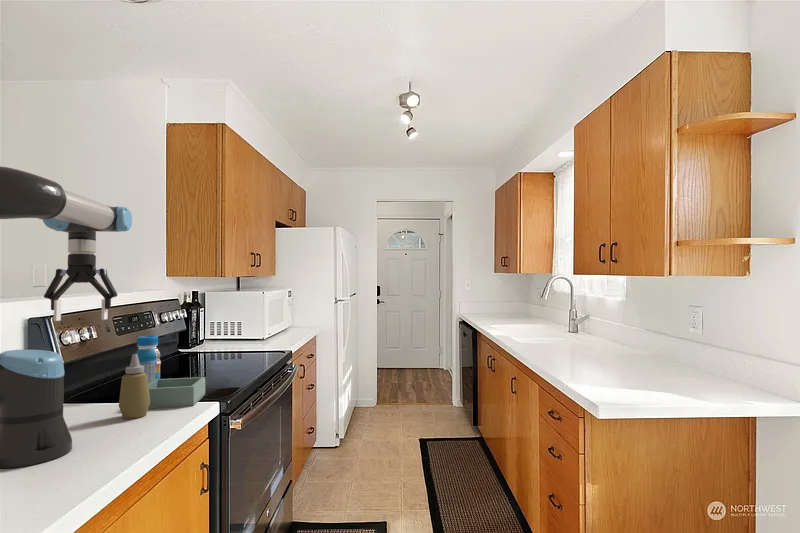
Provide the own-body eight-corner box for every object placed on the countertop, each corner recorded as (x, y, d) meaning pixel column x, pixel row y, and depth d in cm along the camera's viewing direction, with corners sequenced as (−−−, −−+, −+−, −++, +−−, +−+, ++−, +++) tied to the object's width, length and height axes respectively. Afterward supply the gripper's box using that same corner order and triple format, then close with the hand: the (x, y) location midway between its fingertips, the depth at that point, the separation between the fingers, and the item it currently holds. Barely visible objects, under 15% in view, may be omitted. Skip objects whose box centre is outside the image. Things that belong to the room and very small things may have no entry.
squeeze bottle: (140, 420, 134) (140, 356, 135) (112, 420, 134) (112, 356, 135) (155, 412, 142) (155, 352, 143) (128, 413, 142) (129, 352, 143)
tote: (193, 405, 149) (193, 386, 150) (138, 409, 147) (138, 389, 147) (205, 394, 165) (205, 377, 165) (155, 397, 162) (155, 379, 163)
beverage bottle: (140, 397, 162) (140, 338, 163) (129, 394, 168) (129, 337, 168) (165, 392, 169) (165, 336, 170) (153, 389, 174) (153, 334, 175)
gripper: (128, 254, 159) (128, 318, 158) (44, 254, 154) (43, 320, 153) (119, 252, 152) (119, 319, 151) (31, 253, 147) (30, 322, 146)
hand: (81, 320), depth 152 cm, fingers open, 13 cm apart
